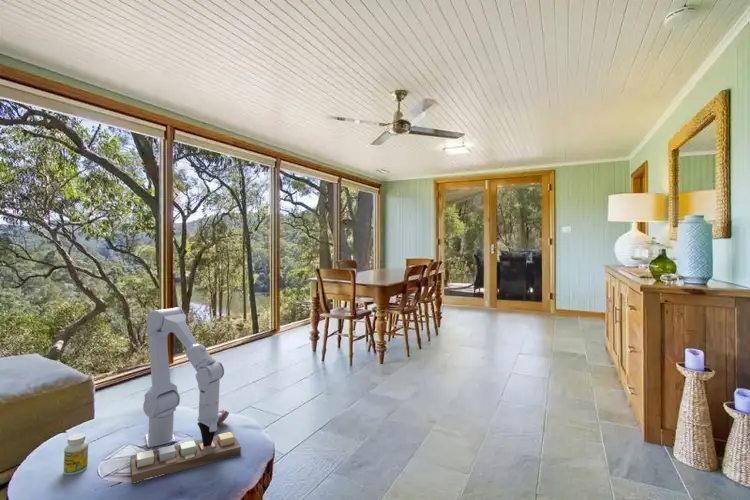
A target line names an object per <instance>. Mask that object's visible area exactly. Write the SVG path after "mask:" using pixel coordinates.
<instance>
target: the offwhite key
mask: <svg viewBox="0 0 750 500" xmlns="http://www.w3.org/2000/svg"><path fill="white" fill-rule="evenodd" d="M153 451H154V450H153V449H151V450H146V451H141V452H137V453H136V455H137V460H136V464H137V468H138V467H142V466H146V465H150V464H154V454H153Z"/></svg>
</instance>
